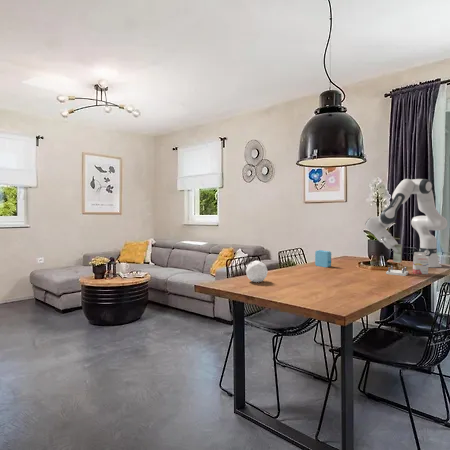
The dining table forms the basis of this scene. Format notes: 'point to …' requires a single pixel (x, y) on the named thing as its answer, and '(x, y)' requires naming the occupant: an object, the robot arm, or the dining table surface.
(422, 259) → the ink cartridge box
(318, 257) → the data package
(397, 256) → the sage spacer block
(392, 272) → the mounting plate
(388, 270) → the standoff pins
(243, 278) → the dining table surface
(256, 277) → the geodesic sphere
